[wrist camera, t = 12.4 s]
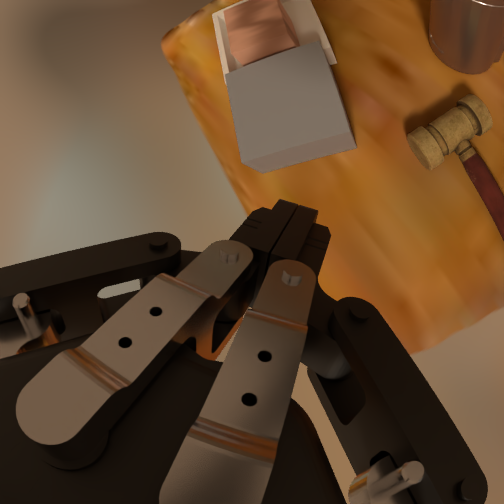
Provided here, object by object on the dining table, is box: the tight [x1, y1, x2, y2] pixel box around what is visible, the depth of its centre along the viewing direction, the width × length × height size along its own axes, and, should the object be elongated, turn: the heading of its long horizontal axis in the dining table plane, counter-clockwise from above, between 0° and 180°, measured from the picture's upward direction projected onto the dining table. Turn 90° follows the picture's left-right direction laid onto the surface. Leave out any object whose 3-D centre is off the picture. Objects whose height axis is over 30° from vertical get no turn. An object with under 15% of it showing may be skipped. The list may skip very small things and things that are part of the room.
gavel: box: [407, 94, 504, 240], centre depth 27 cm, size 21×5×10 cm
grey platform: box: [225, 41, 357, 173], centre depth 35 cm, size 12×12×6 cm
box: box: [212, 0, 337, 85], centre depth 36 cm, size 14×14×4 cm
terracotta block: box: [223, 0, 300, 66], centre depth 34 cm, size 7×7×8 cm
